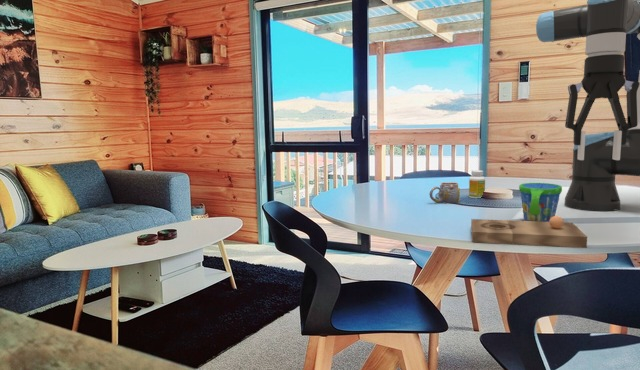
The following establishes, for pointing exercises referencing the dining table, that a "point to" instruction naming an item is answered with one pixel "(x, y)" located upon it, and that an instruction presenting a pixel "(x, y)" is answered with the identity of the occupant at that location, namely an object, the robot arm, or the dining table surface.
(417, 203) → the dining table surface
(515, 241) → the wooden board
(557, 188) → the snack cup
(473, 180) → the supplement bottle
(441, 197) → the mug
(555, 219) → the ball
